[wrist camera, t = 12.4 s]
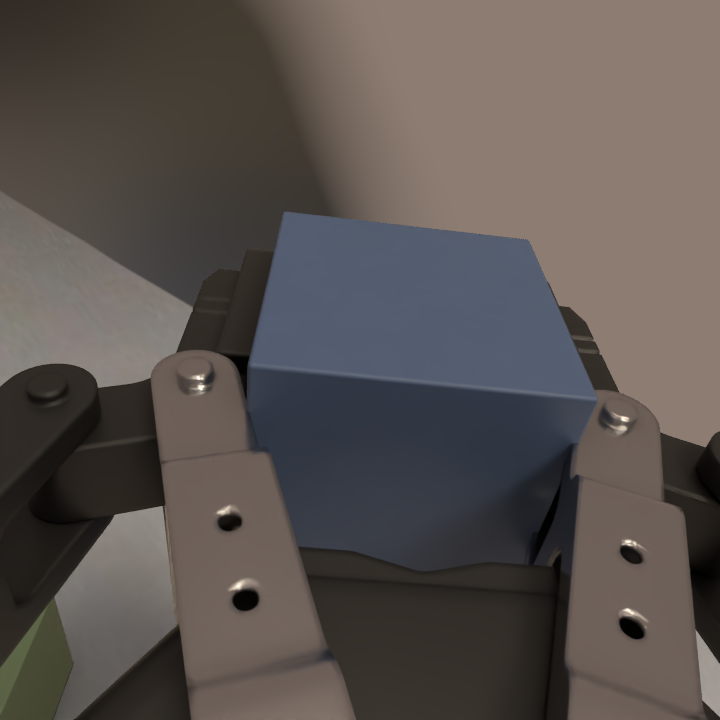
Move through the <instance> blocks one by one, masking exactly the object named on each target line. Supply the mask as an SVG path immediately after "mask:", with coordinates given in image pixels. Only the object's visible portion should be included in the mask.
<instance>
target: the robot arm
mask: <svg viewBox="0 0 720 720" xmlns="http://www.w3.org/2000/svg"><path fill="white" fill-rule="evenodd" d="M273 254H274V251H273V250H263V249H255V248H247V251H246V254H245V257H244V261H243V264H242V267H241V271H232V270H223V269H219V270H217V271H216V272H215V273H213V274H212V275H211V276H210V277H208V278H207V279H206V280H205V281H203V284H202V286H201V289H200V292H199V294H198V298H197V300H196V302H195V305H194V307H193V312H192V313H191V315H190V318H189V320H188V323H187V326H186V328H185V331H184V334H183V336H182V339H181V341H180V344H179V347H178V349H177V352H176V353H175V354H172V355H170V356H168V357H166V358H164V359H163V360H161V361H160V362H159V363H158V364H157V365H156V366H155V367H154V369H153V371H152V374H151V378H150V379H147V380H144V381H141V382H137V383H132V384H127V385H118V386H110V387H102V388H98V386H97V382H96V379H95V378H94V377H93V375H92V374H91V373H89V372H88V371H86V370H85V369H83V368H80V367H77V366H73V365H69V364H47V365H41V366H36V367H33V368H30V369H27V370H25V371H22V372H20V373H18V374H16V375H15V376H13V377H12V378H10V379H9V380H8V381H7V382H5V383H4V384H3V385H2V386H1V387H0V668H1V666H2V665H3V664H4V662H5V661H6V660H7V658H8V657H9V656H10V654H11V653H12V652H13V650H14V649H15V648H16V646H17V645H18V644H19V642H20V641H21V640H22V638H23V637H24V636H25V634H26V633H27V632H28V631H29V629H30V628H31V627H32V625H33V624H34V623H35V621H36V620H37V619H38V617H39V616H40V615H41V613H42V612H43V611H44V609H45V608H46V607H47V605H48V604H49V603H50V601H51V600H52V599H53V597H54V596H55V595H56V593H57V592H58V591H59V590H60V588H61V587H62V586H63V584H64V583H65V582H66V580H67V579H68V578H69V576H70V575H71V574H72V572H73V571H74V570H75V568H76V567H77V566H78V564H79V563H80V562H81V560H82V559H83V558H84V556H85V555H86V554H87V552H88V551H89V550H90V549H91V547H92V546H93V545H94V543H95V542H96V541H97V539H98V538H99V537H100V535H101V534H102V533H103V531H104V530H105V529H106V527H107V526H108V525H109V523H110V522H111V520H112V519H113V517H114V515H115V514H121V513H126V512H131V511H137V510H142V509H148V508H153V507H159V506H163V512H164V521H165V530H166V539H167V548H168V557H169V566H170V575H171V584H172V594H173V604H174V614H175V623H176V627H175V628H173V629H172V630H171V631H170V632H169V633H168V634H167V635H166V636H165V637H164V638H163V639H161V640H160V641H159V642H158V643H157V644H156V645H155V646H154V647H153V648H152V649H151V650H149V651H148V652H147V653H146V654H145V655H144V656H143V657H142V658H141V659H140V660H139V661H137V662H136V663H135V664H134V665H133V666H132V667H131V668H130V669H129V670H128V671H127V672H125V673H124V674H123V675H122V676H121V677H120V678H119V679H118V680H117V681H116V682H114V683H113V684H112V685H111V686H110V687H109V688H108V689H107V690H106V691H105V692H104V693H102V694H101V695H100V696H99V697H98V698H97V699H96V700H95V701H94V702H93V703H92V704H90V705H89V706H88V707H87V708H86V709H85V710H84V711H83V712H82V713H81V714H80V715H78V716H77V717H76V718H75V719H74V720H720V717H719V716H718V715H717V714H716V713H715V712H714V711H713V710H712V709H711V708H710V707H709V706H708V705H706V704H705V703H704V702H703V701H702V694H701V683H700V673H699V662H698V652H697V641H696V631H695V629H696V630H697V632H698V633H699V635H700V636H701V637H702V639H703V640H704V642H705V643H706V645H707V646H708V647H709V649H710V650H711V652H712V653H713V655H714V656H715V657H716V659H717V660H718V662H719V663H720V432H717V433H716V434H715V435H714V436H713V437H712V438H711V440H710V442H709V443H708V445H707V446H706V447H702V446H699V445H696V444H693V443H690V442H686V441H683V440H680V439H677V438H673V437H671V436H668V435H665V434H663V433H660V427H659V423H658V421H657V419H656V418H655V416H654V414H653V413H652V412H651V411H650V410H649V409H648V408H647V407H645V406H644V405H643V404H641V403H640V402H638V401H637V400H635V399H633V398H631V397H629V396H627V395H624V394H621V393H619V391H618V388H617V386H616V384H615V383H614V380H613V378H612V376H611V374H610V372H609V370H608V368H607V366H606V363H605V361H604V359H603V357H602V355H599V353H600V352H599V349H598V347H597V345H596V343H595V342H594V341H593V336H592V334H591V332H590V330H589V328H588V326H587V324H586V322H585V321H584V320H582V318H580V317H579V316H578V315H577V314H576V313H575V312H574V311H573V310H572V309H571V308H569V307H561V306H559V305H558V303H557V301H556V298H555V296H554V294H553V291H552V289H551V287H550V285H549V283H548V282H547V283H548V285H549V287H550V290H551V292H552V294H553V297H554V299H555V301H556V303H557V306H558V308H559V310H560V313H561V315H562V317H563V320H564V322H565V324H566V326H567V329H568V331H569V333H570V336H571V338H572V340H573V342H574V345H575V347H576V349H577V352H578V354H579V356H580V358H581V361H582V363H583V365H584V368H585V370H586V372H587V374H588V377H589V379H590V381H591V384H592V386H593V388H594V391H595V393H596V395H597V397H598V402H597V404H596V407H595V409H594V411H593V413H592V416H591V418H590V420H589V422H588V424H587V427H586V429H585V431H584V433H583V435H582V438H581V440H580V442H579V443H573V444H572V446H571V449H570V451H569V453H568V455H567V458H566V460H565V462H564V464H563V470H562V479H561V484H560V486H559V488H558V490H557V493H556V495H555V497H554V499H553V502H552V504H551V506H550V508H549V510H548V513H547V515H546V517H545V519H544V521H543V524H542V526H541V528H540V530H539V532H533V534H532V536H531V539H530V541H529V543H528V545H527V548H526V550H525V556H524V563H523V564H513V563H500V562H484V563H478V564H471V565H465V566H459V567H453V568H447V569H440V570H434V571H426V572H425V571H417V570H414V569H410V568H407V567H404V566H401V565H397V564H394V563H391V562H388V561H384V560H381V559H378V558H374V557H371V556H368V555H365V554H361V553H358V552H355V551H348V550H336V549H323V548H310V547H298V545H297V542H296V538H295V535H294V532H293V528H292V525H291V521H290V518H289V514H288V511H287V508H286V504H285V501H284V497H283V494H282V490H281V487H280V483H279V480H278V477H277V473H276V470H275V466H274V463H273V459H272V456H271V453H270V451H269V449H268V448H267V447H266V446H265V447H259V444H258V441H257V437H256V433H255V430H254V426H253V422H252V419H251V415H250V412H247V366H248V361H249V357H250V353H251V349H252V344H253V340H254V336H255V331H256V327H257V323H258V318H259V314H260V310H261V305H262V301H263V297H264V292H265V288H266V284H267V279H268V275H269V271H270V267H271V262H272V258H273Z"/></svg>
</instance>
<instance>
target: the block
mask: <svg viewBox="0 0 720 720" xmlns="http://www.w3.org/2000/svg"><path fill="white" fill-rule="evenodd" d="M72 666H73V661H72V657H71V654H70V650H69V647H68V643H67V640H66V637H65V633H64V630H63V626H62V623H61V619H60V616H59V613H58V609H57V606H56V602H55V599H54V597H53V599H52V600H51V601H50V603H49V604H48V605H47V607H46V608H45V609H44V611H43V612H42V613H41V615H40V616H39V617H38V619H37V620H36V621H35V623H34V624H33V625H32V627H31V628H30V629H29V631H28V632H27V633H26V634H25V636H24V637H23V638H22V640H21V641H20V642H19V644H18V645H17V646H16V648H15V649H14V650H13V652H12V653H11V654H10V656H9V657H8V658H7V660H6V661H5V662H4V664H3V665H2V666H1V668H0V720H53V717H54V715H55V712H56V709H57V706H58V704H59V701H60V698H61V696H62V693H63V690H64V687H65V685H66V682H67V679H68V677H69V674H70V671H71V668H72Z"/></svg>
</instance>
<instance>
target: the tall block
mask: <svg viewBox="0 0 720 720" xmlns="http://www.w3.org/2000/svg"><path fill="white" fill-rule="evenodd" d="M597 402H598V397H597V395H596V393H595V391H594V388H593V386H592V384H591V381H590V379H589V377H588V374H587V372H586V370H585V368H584V365H583V363H582V361H581V358H580V356H579V354H578V352H577V349H576V347H575V345H574V342H573V340H572V338H571V336H570V333H569V331H568V329H567V326H566V324H565V322H564V320H563V317H562V315H561V313H560V310H559V308H558V306H557V303H556V301H555V299H554V297H553V294H552V292H551V290H550V287H549V285H548V283H547V281H546V278H545V276H544V274H543V271H542V269H541V267H540V265H539V262H538V260H537V258H536V256H535V253H534V251H533V249H532V246H531V244H530V242H529V241H528V240H526V239H525V240H524V239H517V238H508V237H499V236H491V235H482V234H473V233H464V232H456V231H448V230H439V229H430V228H421V227H413V226H405V225H396V224H387V223H379V222H369V221H361V220H352V219H344V218H335V217H327V216H317V215H309V214H300V213H292V212H284V213H283V215H282V219H281V223H280V228H279V232H278V237H277V241H276V245H275V249H274V254H273V258H272V262H271V267H270V271H269V275H268V279H267V284H266V288H265V292H264V297H263V301H262V305H261V310H260V314H259V318H258V323H257V327H256V331H255V336H254V340H253V344H252V349H251V353H250V357H249V361H248V366H247V412H250V415H251V419H252V422H253V426H254V430H255V433H256V437H257V441H258V444H259V447H265V446H266V447H267V448H268V449H269V451H270V453H271V456H272V459H273V463H274V466H275V470H276V473H277V477H278V480H279V483H280V487H281V490H282V494H283V497H284V501H285V504H286V508H287V511H288V514H289V518H290V521H291V525H292V528H293V532H294V535H295V538H296V542H297V545H298V547H310V548H323V549H336V550H348V551H355V552H358V553H361V554H365V555H368V556H371V557H374V558H378V559H381V560H384V561H388V562H391V563H394V564H397V565H401V566H404V567H407V568H410V569H414V570H417V571H425V572H426V571H434V570H440V569H447V568H453V567H459V566H465V565H471V564H478V563H484V562H500V563H513V564H523V563H524V556H525V550H526V548H527V545H528V543H529V541H530V539H531V536H532V534H533V532H539V530H540V528H541V526H542V524H543V521H544V519H545V517H546V515H547V513H548V510H549V508H550V506H551V504H552V502H553V499H554V497H555V495H556V493H557V490H558V488H559V486H560V484H561V479H562V470H563V464H564V462H565V460H566V458H567V455H568V453H569V451H570V449H571V446H572V444H573V443H579V442H580V440H581V438H582V435H583V433H584V431H585V429H586V427H587V424H588V422H589V420H590V418H591V416H592V413H593V411H594V409H595V407H596V404H597Z"/></svg>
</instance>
